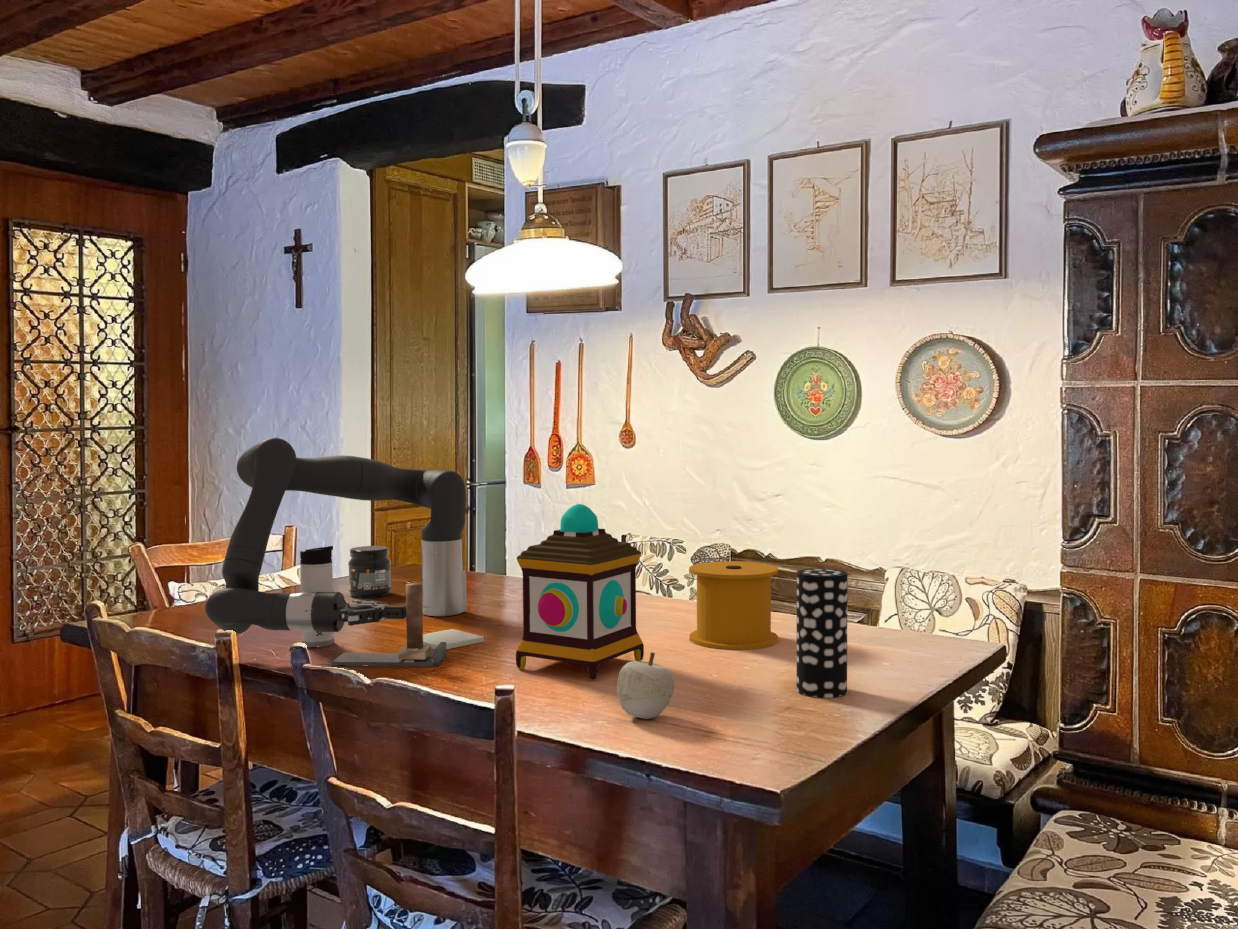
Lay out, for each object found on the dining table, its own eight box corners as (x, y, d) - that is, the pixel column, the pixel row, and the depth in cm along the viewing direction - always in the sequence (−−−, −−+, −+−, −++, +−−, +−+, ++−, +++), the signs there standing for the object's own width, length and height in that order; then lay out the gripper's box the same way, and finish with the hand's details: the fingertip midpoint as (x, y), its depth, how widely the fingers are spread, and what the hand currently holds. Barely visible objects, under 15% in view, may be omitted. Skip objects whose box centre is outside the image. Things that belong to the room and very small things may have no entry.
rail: (331, 666, 195) (331, 650, 195) (343, 656, 202) (343, 641, 202) (438, 666, 194) (438, 650, 193) (446, 657, 201) (446, 642, 200)
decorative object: (608, 722, 159) (608, 657, 158) (628, 707, 167) (628, 645, 167) (664, 728, 156) (663, 662, 155) (681, 712, 164) (681, 649, 163)
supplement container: (358, 590, 274) (357, 545, 273) (397, 591, 272) (396, 545, 271) (342, 598, 263) (341, 550, 262) (382, 599, 262) (381, 551, 261)
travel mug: (326, 648, 209) (324, 548, 208) (296, 647, 210) (293, 548, 209) (341, 641, 215) (338, 544, 214) (311, 640, 216) (309, 543, 215)
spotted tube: (791, 685, 179) (791, 568, 178) (838, 683, 180) (839, 567, 179) (803, 698, 171) (803, 576, 170) (853, 697, 172) (854, 575, 171)
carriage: (398, 659, 195) (397, 586, 194) (405, 652, 200) (404, 582, 199) (425, 659, 195) (423, 586, 194) (431, 653, 200) (430, 582, 199)
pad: (451, 633, 222) (451, 628, 222) (483, 641, 214) (483, 636, 214) (407, 642, 214) (407, 637, 214) (439, 650, 206) (439, 645, 206)
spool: (678, 646, 209) (678, 571, 208) (702, 627, 226) (702, 558, 225) (767, 652, 203) (767, 575, 202) (785, 633, 220) (786, 562, 219)
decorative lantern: (595, 685, 180) (594, 511, 179) (504, 670, 191) (502, 506, 189) (654, 660, 197) (653, 501, 195) (567, 648, 208) (566, 497, 206)
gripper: (302, 598, 191) (396, 599, 190) (327, 585, 204) (415, 586, 203) (303, 639, 192) (397, 640, 191) (328, 624, 205) (415, 624, 204)
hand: (406, 612), depth 197 cm, fingers closed
